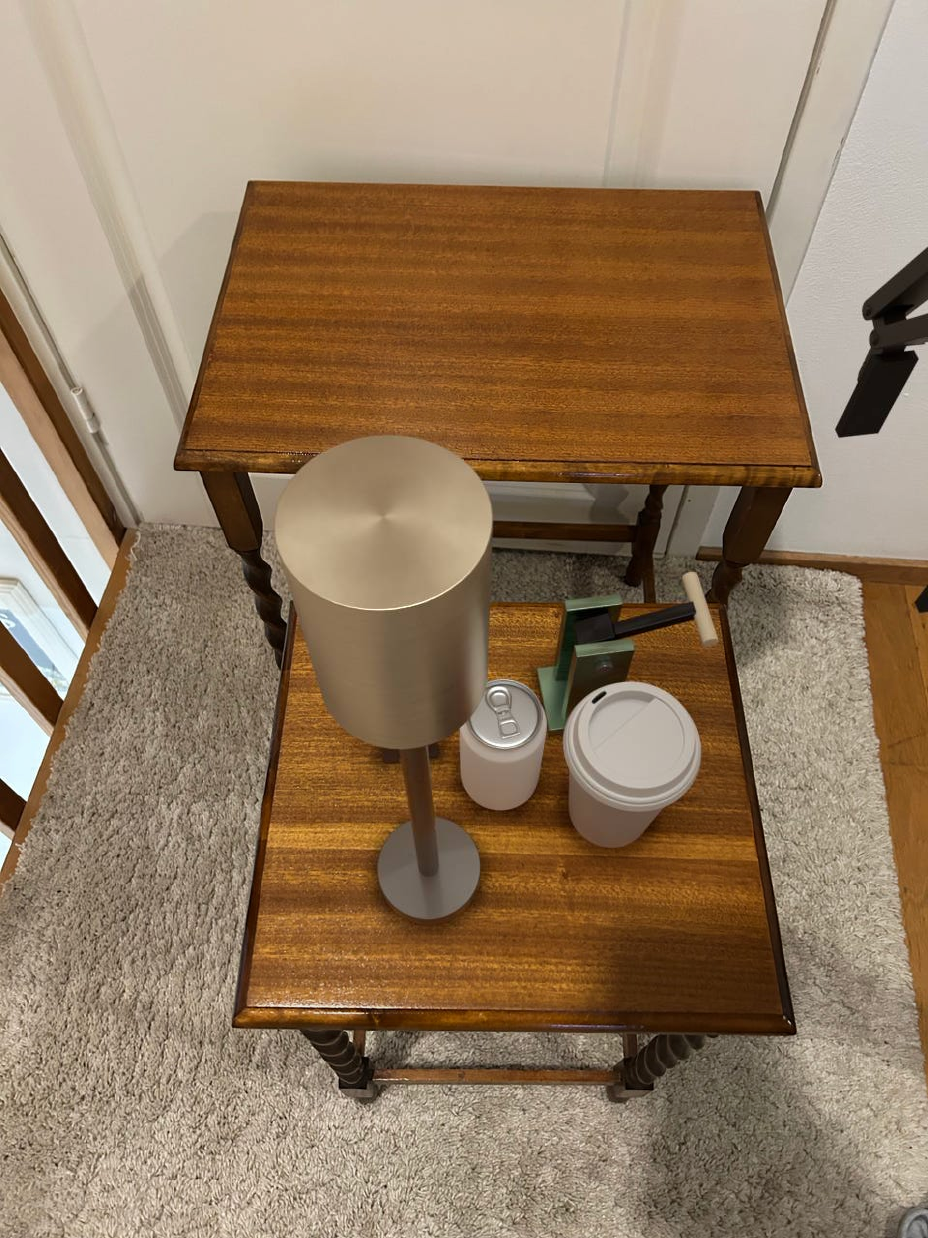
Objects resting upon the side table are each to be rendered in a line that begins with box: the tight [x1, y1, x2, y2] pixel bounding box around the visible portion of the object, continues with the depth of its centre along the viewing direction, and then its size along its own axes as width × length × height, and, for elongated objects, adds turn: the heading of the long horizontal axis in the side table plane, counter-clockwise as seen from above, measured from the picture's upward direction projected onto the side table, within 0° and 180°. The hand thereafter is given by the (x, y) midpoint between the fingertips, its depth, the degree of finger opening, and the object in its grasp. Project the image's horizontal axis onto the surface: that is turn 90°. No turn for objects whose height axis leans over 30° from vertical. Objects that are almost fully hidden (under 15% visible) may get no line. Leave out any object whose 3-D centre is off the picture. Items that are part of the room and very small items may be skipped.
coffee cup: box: [562, 681, 702, 849], centre depth 70 cm, size 10×10×15 cm
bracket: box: [535, 593, 636, 737], centre depth 76 cm, size 7×6×13 cm
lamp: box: [273, 434, 494, 927], centre depth 54 cm, size 8×8×46 cm
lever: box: [573, 571, 719, 648], centre depth 71 cm, size 10×6×2 cm, turn 98°
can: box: [459, 678, 547, 811], centre depth 73 cm, size 6×6×12 cm
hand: (894, 513), depth 58 cm, fingers open, 13 cm apart
